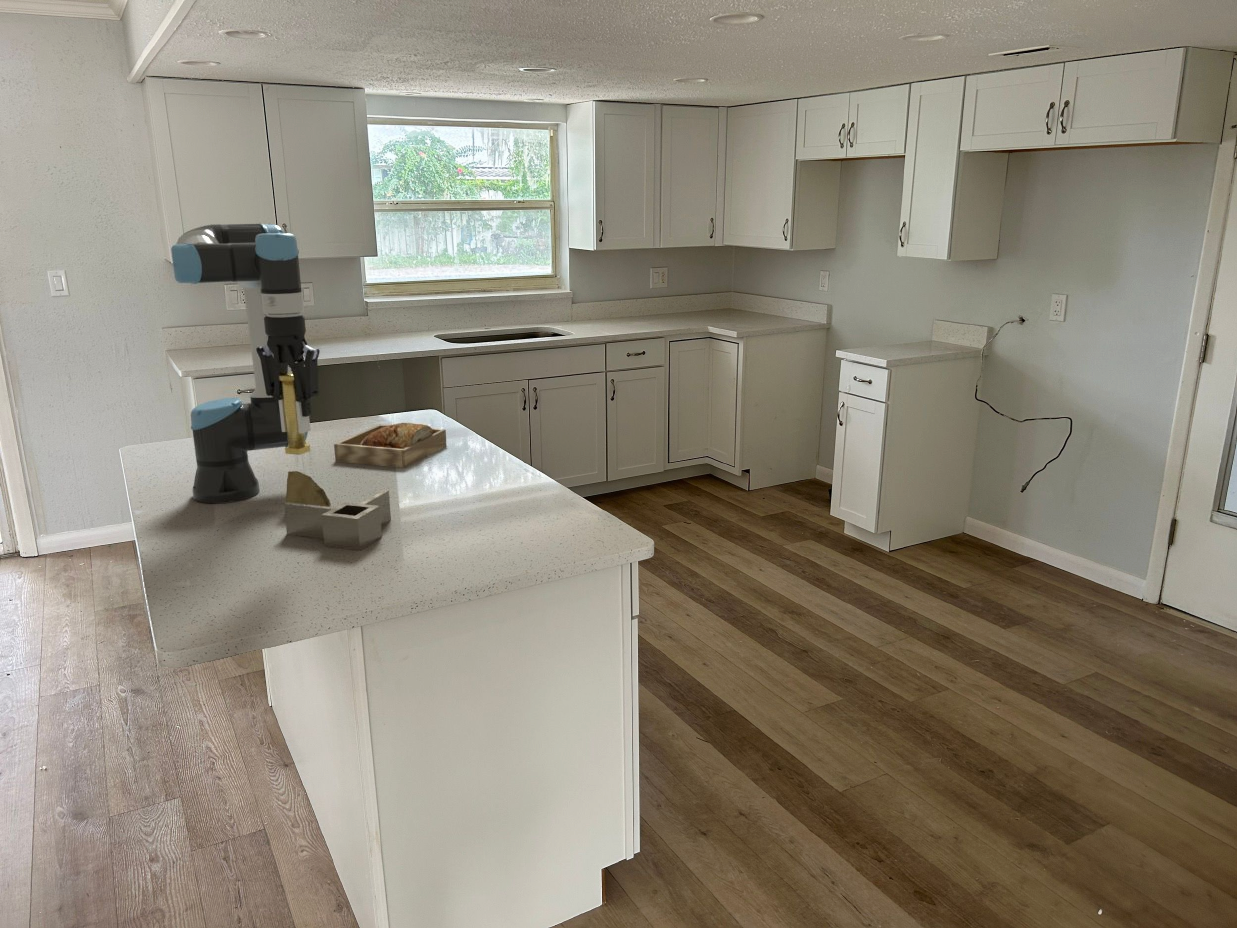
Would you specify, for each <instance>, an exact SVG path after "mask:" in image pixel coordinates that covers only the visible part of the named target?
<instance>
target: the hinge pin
mask: <svg viewBox="0 0 1237 928" xmlns="http://www.w3.org/2000/svg"><path fill="white" fill-rule="evenodd" d="M279 381H281V382H282V391H283V400H284V410H285V419H286V428H287V437H288V446H289V447H284V450H285V451H284V452H285V454H286V455H296V456H301V455H303V454H306V453H308V452H311V445H310V444H307V442H306V440H307V438H305V433H302V434H301V433H299V430H298V421H297V411H296V401H297V400H296V399H299V398H298V394H297V390H296V386H295V382H294V376H293V374H292V372H291V373H286V374H282V375H279Z"/></svg>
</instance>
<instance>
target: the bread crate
mask: <svg viewBox="0 0 1237 928" xmlns="http://www.w3.org/2000/svg"><path fill="white" fill-rule="evenodd" d="M389 425H390V424H377V425H375V426H373V427H371V428H368V429H366V430H363V431H361V432H359V433H357V434H354V435H352V436H349V437H348V438H347V437H346V438H345V439H343V440H340V441H337V442H336V443H334V444H333V448H334V458H335V459H334V461H335V462H338V463H347V464H348V463H350V464H359V465H372V466H378V467H379V466H381V467H393V468H401V469H407V468H409V467H411V466H412V465H414V464H416V463H418V462H419V461H421V460H423V459H425V458H427V457H429V456H431V455H433V454H434V453H436V452H438V451H440V450H442V449H443V448H445V447H447V445H448V444H447V432H446V431H447V430H446V429H442V428H434V427H433V428H432V427H431V428H432V431H433V434H432V435H430V436H428V437H426V438H424V439H422V440H420V441H418V442H416V443H414V444H412V445H410V446H408V447H406V448H404V449H397V448H385V447H373V446H362V445H360V443H361V442H362V440H363V439H364V438H365V437H367V436H368V435H369V434H371V433H372V432H374V431H376V430H379V429H381V428H383V427H386V426H389Z"/></svg>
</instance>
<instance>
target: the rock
mask: <svg viewBox="0 0 1237 928" xmlns="http://www.w3.org/2000/svg"><path fill="white" fill-rule="evenodd" d="M287 502H289V503H298V504H307V505H316V506H326V507H332V505H331V501H330V499H329V497H328V495H327V493H326V491H325V490H324V489H323V488H322V487H320V486H319V484H318V483H317V482H316V481H315V480H314V479H313V478H312V477H311V476H309V475H307V474H305V473H302V472H300V471H297V470H293V471H290V470H289V471H287V480H286V495H285V503H287Z"/></svg>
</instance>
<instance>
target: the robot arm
mask: <svg viewBox="0 0 1237 928" xmlns="http://www.w3.org/2000/svg"><path fill="white" fill-rule="evenodd" d="M170 251H171V258H172V259H171V260H172V267H173V273H174V278H175V279H174V280H175V281H176V282H178V284H191V285H194V284H195V285H197V284H206V283H229V282H230V283H231V282H232V283H236V284H237V286H239V287H241V289H243V293H244V302H245V312H246V317H247V318H246V319H247V325H248V327H247V328H248V336H249V337H248V338H249V343H250V345H249V346H250V351H251V359H252V367H253V374H254V375H253V376H254V384H255V388H254V390H253V391H252V392H251V394H250V395H249V398H250V402H248V403H247V402H246V403H243V401H242V400H241V398H238V397H223V398H218V399H214V400H213V399H212V400H209V401H206V402H204V403H201V404H198V405H197V406H194V408H192V410H191V411H190V424H191V425H190V430H191V431H192V439H193V445H194V446H193V447H194V453H195V460H196V470H195V471H196V472H195V475H194V481H193V486H192V497H193V500H195V501H196V502H200V503H202V504H204V503H205V504H223V503H224V504H225V503H232V502H238V501H242V500H246V499H248V498H251V497H253V496H255V495H257V494H259V492H260V483H259V480H258V479H257V478H256V475H255V473H254V471H253V468H252V465H251V463H250V462H249V461H250V460H249V456H248V454H249V453H248V452H249V451H256V450H257V451H259V450H267V449H276V448H286V447H289V446H288V437H287V428H286V419H285V410H284V400H283V391H282V382H281V381H279V375H282V374H286V373H292V374H293V376H294V382H295V386H296V390H297V394H298V398H299V399H296V400H297V401H296V411H297V421H298V430H299V433H301V434H302V433H305V438H306V439H307V437H308V432H311V423H310V416H312V405H311V399H313V398H317V397H319V392H320V390H319V370H318V368H319V366H318V365H319V363H318V358H319V355H320V353H321V352H320V348H318V347H316V348H313V347H312V346H309V345H308V342H307V340H306V337H305V335H306V332H307V330H306V317H305V316H304V315H303V314H302V313H304V311H305V307H304V299H303V298H304V295H303V290H302V284H301V283H302V282H301V272H300V271H301V270H300V260H299V259H300V258H299V254H300V250H299V248H298V242H297V238H296V235H294V234H293V233H287V232H284V231H283V229H282V228H281V227H280V226H279V225H276V224H269V223H240V224H239V223H238V224H237V223H236V224H234V223H233V224H232V223H231V224H217V223H216V224H207V225H202V226H199V227H195V228H192V229H190V230H187V231H186V232H184V233H183V234H181V236H180V237H179V238H178V239H177V241H176V244H174V245H172V246H171V249H170Z"/></svg>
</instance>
